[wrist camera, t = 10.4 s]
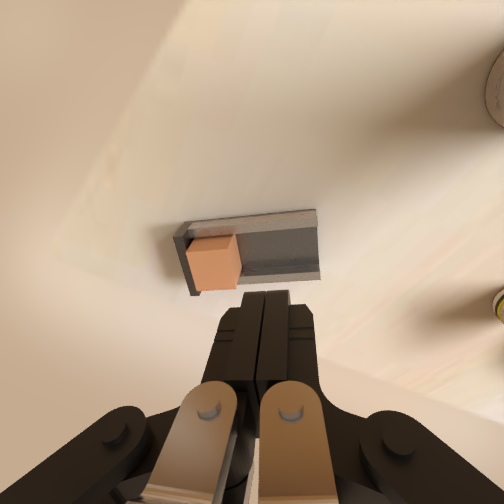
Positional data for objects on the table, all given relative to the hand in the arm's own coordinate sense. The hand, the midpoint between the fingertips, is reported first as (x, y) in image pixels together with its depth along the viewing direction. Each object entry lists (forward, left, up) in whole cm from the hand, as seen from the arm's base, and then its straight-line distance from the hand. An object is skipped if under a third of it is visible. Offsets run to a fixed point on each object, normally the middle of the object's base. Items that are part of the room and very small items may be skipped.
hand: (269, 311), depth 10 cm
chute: (+5, +11, -27) cm, 30 cm away
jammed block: (+10, +11, -27) cm, 31 cm away
